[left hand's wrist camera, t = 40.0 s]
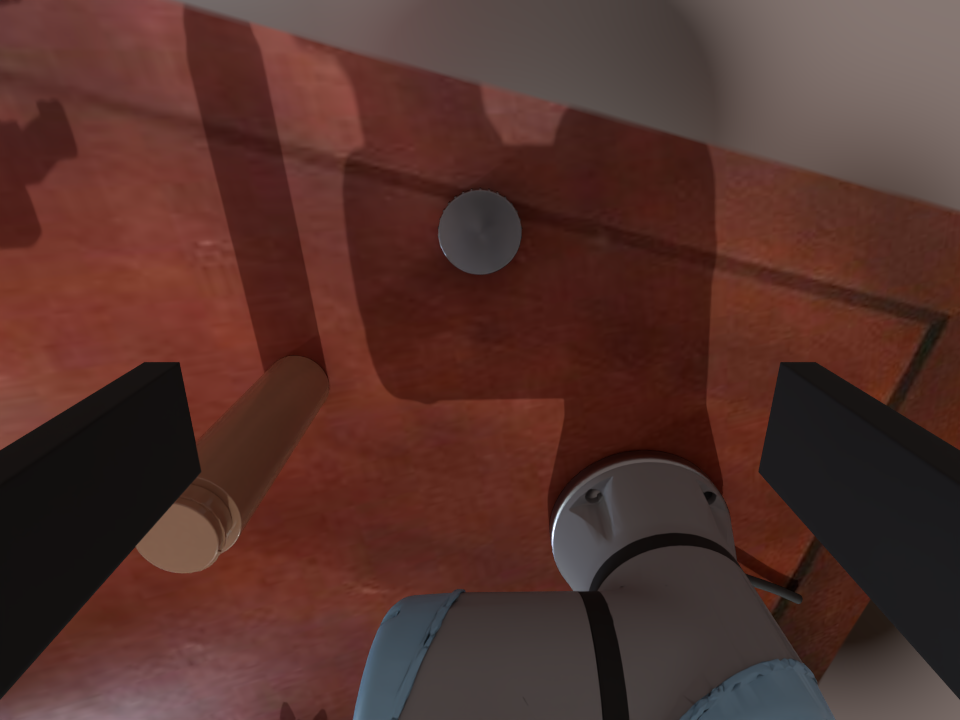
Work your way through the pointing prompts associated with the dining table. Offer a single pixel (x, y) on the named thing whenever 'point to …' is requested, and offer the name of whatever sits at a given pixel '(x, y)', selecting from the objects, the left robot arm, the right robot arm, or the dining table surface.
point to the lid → (480, 231)
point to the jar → (237, 466)
